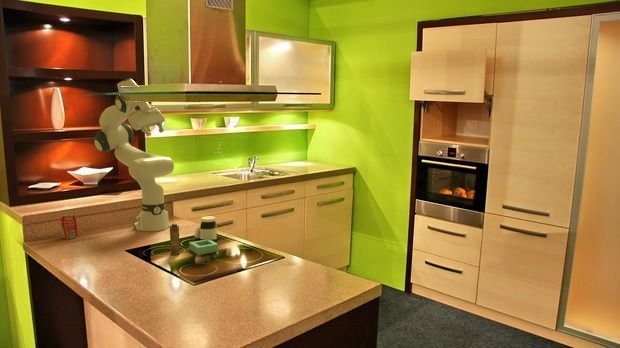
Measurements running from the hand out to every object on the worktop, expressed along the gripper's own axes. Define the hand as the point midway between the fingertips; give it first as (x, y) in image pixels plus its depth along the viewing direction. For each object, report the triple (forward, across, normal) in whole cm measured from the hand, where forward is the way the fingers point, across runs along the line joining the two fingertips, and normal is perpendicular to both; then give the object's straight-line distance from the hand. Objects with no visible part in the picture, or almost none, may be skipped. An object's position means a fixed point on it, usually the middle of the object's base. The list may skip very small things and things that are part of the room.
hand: (156, 133), depth 238 cm
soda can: (+21, +22, -64) cm, 71 cm away
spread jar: (+57, -2, -10) cm, 58 cm away
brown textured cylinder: (+55, +23, -8) cm, 60 cm away
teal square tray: (+60, +13, -1) cm, 61 cm away
